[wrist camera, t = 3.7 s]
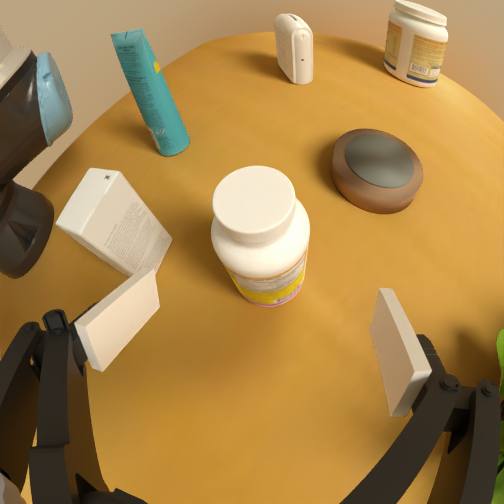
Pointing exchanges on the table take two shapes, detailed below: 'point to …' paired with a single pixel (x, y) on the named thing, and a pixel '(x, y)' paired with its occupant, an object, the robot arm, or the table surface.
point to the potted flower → (503, 489)
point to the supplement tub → (415, 44)
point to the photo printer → (294, 48)
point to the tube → (151, 92)
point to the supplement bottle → (261, 234)
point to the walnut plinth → (376, 171)
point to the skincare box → (114, 223)
